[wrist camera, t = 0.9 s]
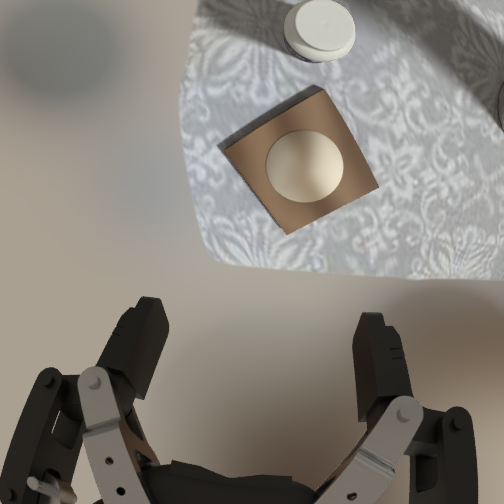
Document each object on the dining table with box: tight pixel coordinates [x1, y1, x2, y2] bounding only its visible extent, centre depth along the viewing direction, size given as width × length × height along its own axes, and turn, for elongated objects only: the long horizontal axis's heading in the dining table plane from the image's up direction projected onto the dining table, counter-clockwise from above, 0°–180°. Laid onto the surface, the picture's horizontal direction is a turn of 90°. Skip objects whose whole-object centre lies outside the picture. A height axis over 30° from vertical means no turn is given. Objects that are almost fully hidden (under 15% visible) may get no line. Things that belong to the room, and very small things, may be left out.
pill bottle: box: [284, 0, 355, 63], centre depth 18 cm, size 5×5×10 cm
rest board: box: [224, 89, 379, 235], centre depth 29 cm, size 12×12×1 cm
